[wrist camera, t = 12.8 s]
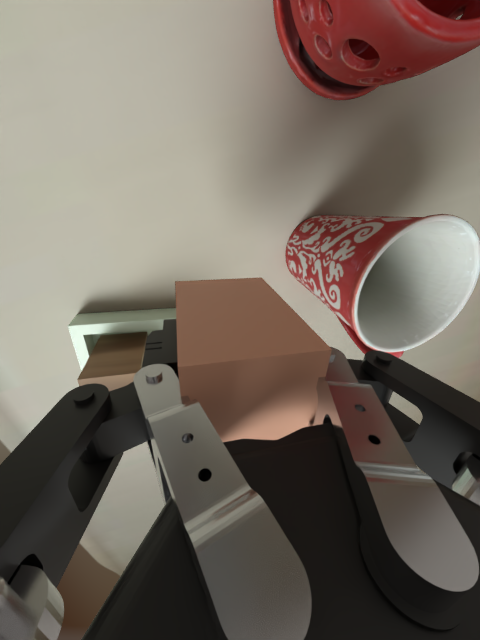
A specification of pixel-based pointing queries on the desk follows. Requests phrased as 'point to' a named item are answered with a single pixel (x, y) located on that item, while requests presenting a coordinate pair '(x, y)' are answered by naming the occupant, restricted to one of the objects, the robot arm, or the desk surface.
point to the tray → (113, 327)
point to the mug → (387, 274)
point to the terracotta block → (247, 358)
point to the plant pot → (371, 40)
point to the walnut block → (114, 360)
